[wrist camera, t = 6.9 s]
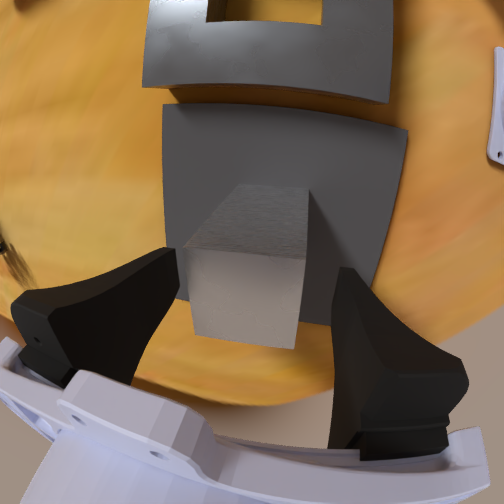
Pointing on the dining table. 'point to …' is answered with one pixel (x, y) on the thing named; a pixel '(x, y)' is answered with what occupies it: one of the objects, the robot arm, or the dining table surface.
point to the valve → (3, 248)
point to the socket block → (272, 50)
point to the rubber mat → (286, 182)
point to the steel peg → (250, 266)
